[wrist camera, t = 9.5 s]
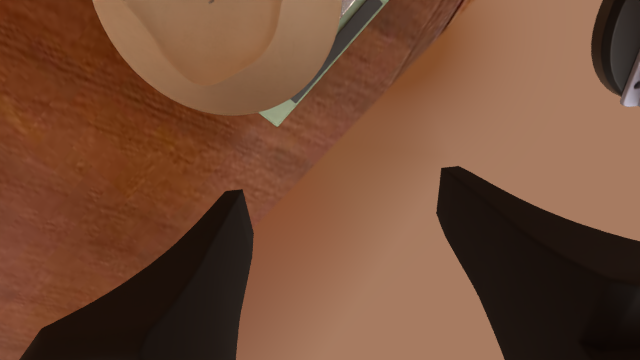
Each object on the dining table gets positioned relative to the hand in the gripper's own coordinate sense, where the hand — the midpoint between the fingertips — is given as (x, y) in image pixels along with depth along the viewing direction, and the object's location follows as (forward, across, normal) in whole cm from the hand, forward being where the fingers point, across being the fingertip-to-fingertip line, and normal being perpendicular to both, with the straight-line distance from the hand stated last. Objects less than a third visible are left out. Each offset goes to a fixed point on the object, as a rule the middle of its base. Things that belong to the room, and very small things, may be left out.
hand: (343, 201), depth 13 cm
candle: (+7, +3, -7) cm, 10 cm away
